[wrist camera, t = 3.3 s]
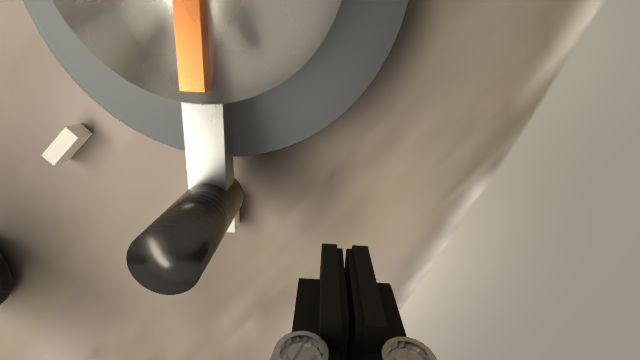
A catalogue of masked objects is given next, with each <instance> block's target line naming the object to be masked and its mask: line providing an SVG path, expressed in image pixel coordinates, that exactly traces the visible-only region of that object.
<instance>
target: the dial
mask: <svg viewBox="0 0 640 360" xmlns="http://www.w3.org/2000/svg"><path fill="white" fill-rule="evenodd" d="M52 1H53V3H54V5H55V6H56V8H57V10H58V11H59V13H60V14H61V16H62V18H63V19H64V21H65V22H66V23H67V25H68V26H69V27H70V28H71V30H72V31H73V32H74V34H75V35H76V36H77V38H78V39H79V40H80V41H81V42H82V43H83V44H84V45H85V46H86V47H87V48H88V49H89V50H90V51H91V53H92V54H93V55H94V56H96V57H97V58H98V59H99V60H100V61H101V62H103V63H104V64H105V65H106V66H107V67H108V68H110V69H111V70H112V71H114V72H115V73H117V74H118V75H120V76H121V77H122V78H124V79H125V80H127V81H129V82H130V83H132V84H134V85H136V86H138V87H140V88H142V89H144V90H145V91H148V92H151V93H153V94H156V95H158V96H161V97H163V98H167V99H171V100H175V101H179V102H181V106H182V118H183V129H184V141H185V153H186V164H187V176H188V188H189V190H188V191H187V192H185V193H184V194H183V195H182V196H181V197H180V198H179V199H178V200H177V201H176V202H175V203H174V204H173V205H171V206H170V207H169V208H168V209H167V210H166V211H165V212H164V213H163V214H162V215H161V216H160V217H159V218H157V219H156V220H155V221H154V222H153V223H152V224H151V225H150V226H149V227H148V228H147V229H146V230H145V231H143V232H142V233H141V234H140V235H139V236H138V237H137V238H136V239H135V240H134V241H133V242H132V243H131V245H130V246H129V248H128V251H127V265H128V268H129V270H130V272H131V274H132V276H133V277H134V278H135V279H136V280H137V282H139V283H140V284H141V285H142V286H144V287H145V288H147V289H149V290H151V291H153V292H156V293H159V294H165V295H175V294H180V293H183V292H186V291H188V290H190V289H191V288H192V287H193V286H194V285H195V284H196V283H197V282H198V280H199V278H200V277H201V275H202V273H203V271H204V270H205V268H206V266H207V264H208V263H209V261H210V259H211V258H212V256H213V254H214V252H215V251H216V249H217V247H218V245H219V244H220V242H221V240H222V238H223V237H224V235H225V233H226V232H227V230H228V228H229V226H230V225H231V223H232V221H233V219H234V218H235V216H236V214H237V212H238V211H239V209H240V207H241V205H242V203H243V199H244V193H243V189H242V187H241V185H240V183H239V182H238V181H237V180H236V179H235V178H234V170H233V141H232V113H231V103H232V102H238V101H241V100H244V99H248V98H251V97H254V96H257V95H259V94H261V93H263V92H265V91H268V90H270V89H272V88H274V87H276V86H278V85H280V84H281V83H283V82H285V81H286V80H288V79H289V78H291V77H292V76H293V75H294V74H296V73H297V72H298V71H299V70H300V69H302V68H303V67H304V66H305V65H306V63H307V62H308V61H309V60H310V59H311V58H312V57H313V56H314V55H315V53H316V52H317V50H318V49H319V47H320V46H321V45H322V43H323V42H324V40H325V38H326V37H327V35H328V33H329V31H330V29H331V27H332V25H333V23H334V20H335V18H336V15H337V12H338V10H339V7H340V4H341V1H342V0H52Z"/></svg>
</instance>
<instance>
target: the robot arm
mask: <svg viewBox="0 0 640 360" xmlns="http://www.w3.org/2000/svg"><path fill="white" fill-rule="evenodd" d="M270 360H437V359H436V357H435V355H434V354H433V353H432V351H431V350H430V349H429V348H428V347H427V346H425V345H424V344H423V343H421V342H419V341H417V340H416V339H412V338H409V337H406V333H405V330H404V327H403V324H402V320H401V317H400V314H399V311H398V307H397V304H396V301H395V298H394V294H393V291H392V288H391V285H390V284H389V283H377V282H376V278H375V274H374V270H373V266H372V262H371V258H370V254H369V250H368V246H355V245H353V246H352V249H347V250H346V258H345V269H344V261H343V250H342V249H339V248H337V244H322V251H321V266H320V279H303V278H299V282H298V289H297V297H296V305H295V313H294V320H293V328H292V332H291V333H289V334H287V335H284V336H283V337H282V338H281V339H280V340H279V341H278V342H277V344H276V346H275V348H274V351H273V353H272V356H271V359H270Z"/></svg>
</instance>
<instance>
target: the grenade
mask: <svg viewBox="0 0 640 360" xmlns="http://www.w3.org/2000/svg"><path fill="white" fill-rule="evenodd" d="M11 288H12V277H11V274H10V270H9V267H8V264H7V261H6V260H5V258H4V256H3V255H2V253H1V252H0V304H1V303H3V302H4V301H5V300H6V299H7V297H8V296H9V294H10V291H11Z"/></svg>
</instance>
